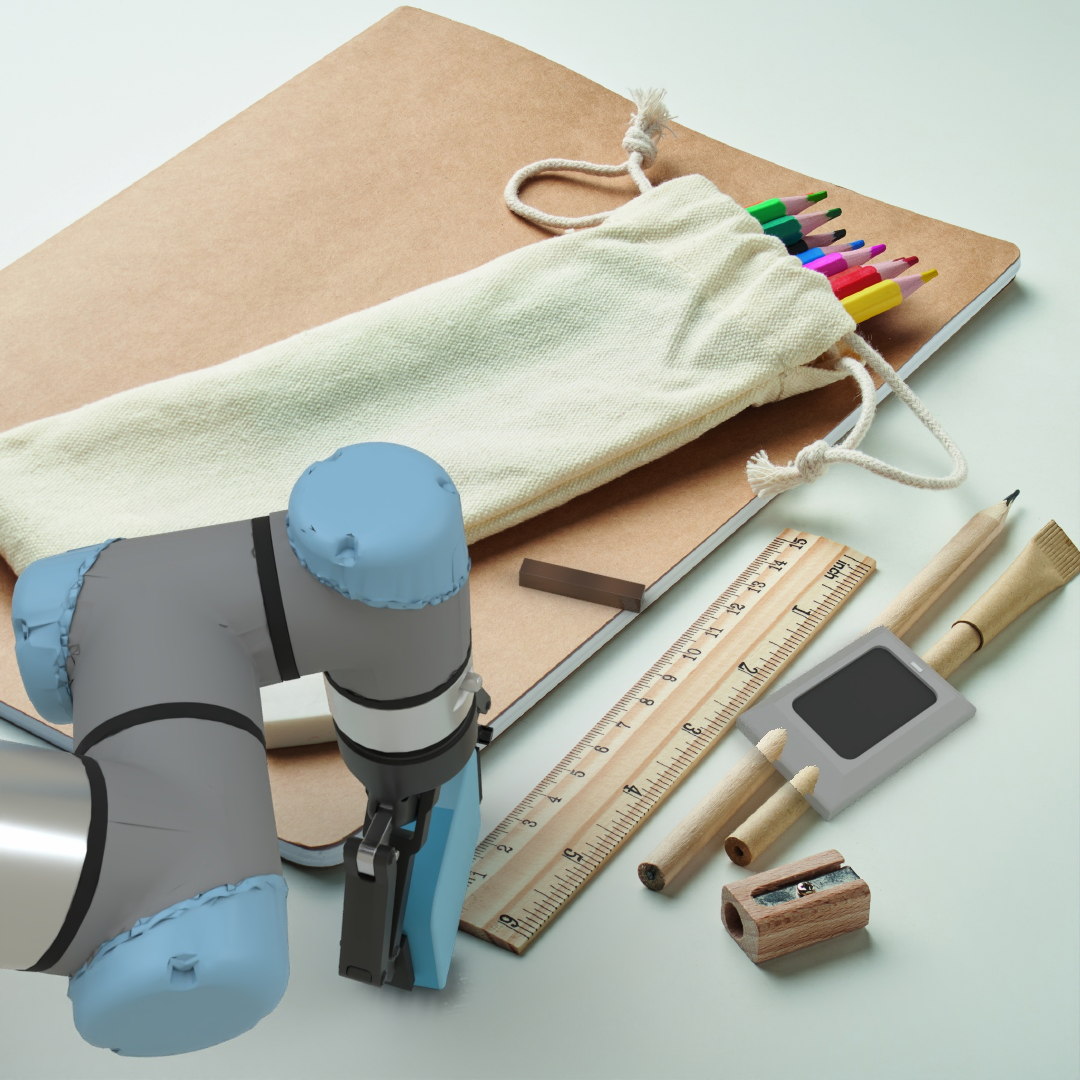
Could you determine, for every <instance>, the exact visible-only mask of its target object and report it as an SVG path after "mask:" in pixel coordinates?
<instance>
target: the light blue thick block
mask: <svg viewBox="0 0 1080 1080" xmlns="http://www.w3.org/2000/svg"><path fill="white" fill-rule="evenodd" d="M481 823H482V821H481V804H480V802H479V786H478V769H477V753H476V749H474V751H473V754H472V756H471V757H470V759H469V761H468V762H467V764H466V765H465V766H464V768H463V769H462V770H461V771H460V772H459V773H458V774H457V775H456V776H455V777H453V778H452V779H451V780H449V781H448V782H446V783H445V784H443V785H441V790H440V795H439V800H438V802H437V803H436V804H435V805H434V807H433V809H432V815H431V820H430V826H429V832H428V837H427V841H426V843H425V844H424V846H423V847H422V848H421V849H420V851H419V852H418V853H416V855H415V861H414V866H413V872H412V878H411V883H410V889H409V894H408V900H407V906H406V911H405V917H404V923H403V928H402V934H404V935H407V936H408V942H409V948H410V953H411V959H412V964H413V970H414V975H415V982H414V985H413V986H416V987H421V988H427V989H428V988H429V989H434V990H443V989H444V988H445V987H446V984H447V980H448V974H449V970H450V967H451V963H452V962H451V961H452V957H453V953H454V948H455V945H456V944H455V943H456V938H457V934H458V929H459V926H460V920H461V916H462V912H463V907H464V902H465V898H466V893H467V889H468V885H469V879H470V876H471V875H470V874H471V871H472V866H473V862H474V858H475V853H476V848H477V844H478V839H479V834H480V830H481V826H482V825H481ZM415 825H416V821H415V822H412V823H410V824H407V825H405V826H402V827H400V828H403V829H407V830H410V831H415Z"/></svg>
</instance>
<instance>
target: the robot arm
mask: <svg viewBox="0 0 1080 1080" xmlns="http://www.w3.org/2000/svg"><path fill="white" fill-rule="evenodd" d="M461 501H462V500H461V494H460V492H459V491H458V488H457V487H456V485H455V483H454V481H453V479H452V478H451V475H450V474H449V473H448V472H447V471H446V469H444V467H443V466H442V465H440V463H439V462H437V461H436V460H435V459H434V458H432V457H431V456H429V455H428V454H425V453H424V452H422V451H420V450H419V449H416V448H413V447H410V446H407V445H404V444H399V443H394V442H388V441H366V442H359V443H353V444H348V445H345V446H342V447H339V448H336V450H335V452H334V453H332V455H330V456H329V457H327V458H325V459H323V460H315V461H314V462H313V463H312V464H310V465H308V467H306V468H305V469H304V471H302V473H301V474H300V476H299V477H298V478H297V480H296V482H295V483H294V485H293V487H292V489H291V491H290V494H289V499H288V505H287V506H288V507H287V509H283V510H277V511H271V512H269V515H263V516H258V517H252V518H247V519H242V520H241V519H240V520H236V521H230V522H224V523H218V524H212V525H211V524H210V525H205V526H198V527H194V528H193V527H191V528H187V529H181V530H175V531H169V532H164V533H156V534H151V535H150V534H149V535H142V536H136V537H130V538H128V537H127V538H126V537H116V538H108V539H106V540H105V541H103V542H100V543H95V544H91V545H86V546H82V547H77V548H74V549H67V550H66V551H65V552H61V553H57V554H53V555H49V556H46V557H41V558H38V559H36V560H34V561H32V562H31V563H30V564H28V565H27V566H26V567H25V568H24V569H23V570H22V572H21V573H20V574H19V576H18V578H17V580H16V582H15V585H14V589H13V594H12V599H11V624H12V629H13V633H14V638H15V644H14V652H15V658H16V662H17V666H18V670H19V675H20V678H21V681H22V684H23V687H24V690H25V693H26V695H27V698H28V699H29V701H30V703H31V704H32V706H33V708H34V709H35V710H36V712H37V714H38V715H39V716H40V717H41V718H42V719H44V720H45V721H46V722H48V723H51V724H53V725H56V726H57V725H58V726H59V725H60V726H66V725H72V752H68V751H63V750H60V749H59V750H58V749H52V748H47V747H44V746H37V745H32V744H27V743H21V742H16V741H12V740H7V739H6V740H5V739H0V970H11V971H12V970H13V971H18V972H26V973H27V972H29V973H39V974H40V973H41V974H45V975H51V976H60V977H67V978H68V987H67V993H66V997H67V998H68V999H69V1000H70V1001H71V1003H72V1017H73V1018H72V1019H73V1024H74V1027H75V1029H76V1031H77V1032H78V1034H79V1035H80V1037H81V1038H82V1040H83V1041H85V1042H86V1043H87V1044H89V1045H90V1046H91V1047H95V1048H99V1049H103V1050H104V1049H109V1050H110V1051H111V1053H114V1054H116V1055H118V1056H120V1057H121V1056H122V1057H129V1058H159V1057H160V1058H161V1057H170V1056H178V1055H184V1054H188V1053H193V1052H197V1051H202V1050H205V1049H209V1048H211V1047H215V1046H218V1045H221V1044H223V1043H226V1042H228V1041H231V1040H233V1039H235V1038H237V1037H240V1036H241V1035H243V1034H246V1033H247V1032H249V1031H251V1030H252V1029H253V1028H255V1027H256V1026H257V1025H258V1024H259V1022H260V1021H261V1020H262V1019H264V1018H265V1017H267V1016H269V1015H271V1013H273V1011H274V1010H275V1009H276V1008H277V1007H278V1006H279V1005H280V1003H281V1001H282V999H283V998H284V996H285V994H286V992H287V988H288V986H289V985H288V984H289V979H290V974H291V973H290V971H291V970H290V968H291V967H290V950H289V926H288V925H289V923H288V900H287V899H288V894H289V892H290V891H289V890H290V888H289V886H288V883H287V881H286V878H285V877H284V872H283V866H282V859H281V858H282V857H281V852H280V844H279V837H278V832H277V824H276V817H275V810H274V803H273V795H272V788H271V781H270V780H271V779H270V773H269V767H268V766H269V764H268V751H267V740H266V731H265V724H264V723H265V722H264V715H263V706H262V705H263V704H262V697H261V690H260V689H261V688H265V687H268V686H273V685H277V684H281V683H284V682H288V681H295V680H299V679H301V677H304V676H310V675H315V674H320V673H322V677H323V683H324V688H325V694H326V699H327V704H328V710H329V712H330V714H331V717H332V723H333V727H334V731H335V737H336V740H337V745H338V749H339V753H340V756H341V758H342V761H343V762H344V765H345V766H346V767H347V769H348V770H349V772H350V773H351V774H352V775H353V776H354V777H355V778H356V779H357V780H358V781H359V782H360V783H361V785H362V786H363V787H365V794H366V796H367V802H366V809H365V815H364V820H363V826H362V837H358V836H355V835H351V834H350V835H349V836H348V837H347V839H346V840H345V842H344V844H343V847H342V849H343V850H342V851H343V852H342V859H343V866H344V871H345V872H344V873H345V877H344V878H345V880H344V890H343V891H344V893H343V906H342V917H341V918H342V920H341V935H340V940H339V959H338V971H337V973H338V976H340V977H343V978H347V979H349V980H352V981H356V982H359V983H362V984H365V985H369V986H372V987H375V988H378V989H381V988H382V987H383V986H384V985H387V986H391V987H395V988H398V989H401V990H404V991H408V992H412V991H413V988H414V986H415V985H414V982H415V975H414V970H413V964H412V959H411V953H410V948H409V942H408V936H407V935H404V934H402V928H403V923H404V917H405V911H406V906H407V900H408V894H409V889H410V883H411V878H412V872H413V866H414V861H415V855H416V853H418V852H419V851H420V849H421V848H422V847H423V846H424V844H425V843H426V841H427V837H428V832H429V826H430V820H431V815H432V809H433V807H434V805H435V804H436V803H437V802H438V800H439V795H440V790H441V785H443V784H445V783H446V782H448V781H449V780H451V779H452V778H453V777H455V776H456V775H457V774H458V773H459V772H460V771H461V770H462V769H463V768H464V766H465V765H466V764H467V762H468V761H469V759H470V757H471V756H472V754H473V751H474V749H476V753H477V769H478V786H479V802H480V805H481V803H482V801H483V798H484V797H483V782H482V781H483V779H482V767H481V766H482V765H481V764H482V763H481V748H480V746H477V744H480V745H484V746H490V745H491V743H492V740H493V736H494V731H495V729H494V727H492V726H489V725H484V724H480V723H479V721H478V720H479V717H480V714H481V715H487V714H488V712H489V711H491V707H492V697H491V695H490V694H489V693H488V692H487V691H486V690H485V689H484V687H483V682H484V680H483V677H482V675H481V674H479V673H477V672H475V671H474V659H473V657H474V656H473V642H472V641H473V640H472V638H473V637H472V636H473V635H472V629H473V628H472V617H471V615H472V613H471V589H470V588H471V587H470V571H471V568H472V567H471V566H472V558H471V557H470V556H469V548H468V544H467V539H466V531H465V524H464V517H463V515H464V514H463V508H462V502H461ZM415 821H416V825H415V831H410V830H407V829H403V828H400V827H402V826H405V825H407V824H410V823H412V822H415Z"/></svg>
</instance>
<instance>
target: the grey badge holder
mask: <svg viewBox="0 0 1080 1080" xmlns="http://www.w3.org/2000/svg"><path fill="white" fill-rule="evenodd" d="M881 625H882V626H881ZM881 625H879V626H880V627H879V626H877V627H874V628H873V629H871V630H869V631H870V632H869V631H868V632H869V633H868V632H867V634H866V633H865V634H863V635H861V636H860V637H859V638H857V639H855V640H854V641H852V642H851V643H849V644H848V645H846V646H844V647H843V648H841V649H840V650H838V651H837V652H835V653H833V654H832V655H830V656H829V657H827V658H826V659H825V660H822V661H821V662H820V663H819V664H817V665H815V666H813V667H812V668H810V669H809V670H807V671H806V672H804V673H803V674H801V675H799V676H798V677H796V678H795V679H793V680H792V681H790V682H789V683H787V684H785V685H784V686H783V687H781V688H780V689H778V690H776V691H775V692H773V693H772V694H770V695H768V696H767V697H765V698H764V699H763V700H760V701H759V702H758V703H756V704H754V705H753V706H751V707H750V708H748V709H747V710H745V711H744V712H742V713H741V714H739V715H737V717H736V720H735V725H734V726H735V727H736V728H737V729H738V730H739V731H740V733H742V734H743V736H744V737H745V738H746V739H747V740H748V741H749V742H750V743H751V744H752V745H753V746H754V747H755V746H756V745H757V744H758V742H760V740H761V739H762V738H763V737H764V736H765V735H766V734H767V733H768V732H769V731H771V730H775V729H777V728H778V729H779V728H780V729H786V730H785V731H787V735H786V736H787V740H786V743H785V746H784V747H783V751H782V753H781V755H780V760H779V761H780V762H779V761H778V760H777V759H775V760H774V761H773V763H770V764H771V765H772V766H773V767H774V768H775V769H776V770H777V771H778V772H779V773H780V774H781V775H782V776H783V778H785V780H786V781H787V782H788V783H789V781H790V780H792V779H793V778H794V776H795V775H796V774H798V773H799V771H800V770H802V769H804V768H805V767H806V766H808V767H809V766H814V765H816V766H814V767H818V768H819V771H818V772H819V776H818V777H817V778H818V780H817V783H816V784H815V788H814V793H813V796H814V797H813V796H812V795H811V794H810V793H809V792H808V793H807V794H805V796H802V798H803V799H805V800H806V802H807V803H808V804H809V805H810V806H811V807H812V808H813V809H814V810H815V811H816V812H817V813H818V815H820V816H821V817H822V819H823V820H825V822H829V821H830V820H831V819H833V818H834V817H836V816H837V815H839V814H840V813H841V812H843V811H844V810H845V809H847V808H848V807H850V806H851V805H852V804H854V803H855V802H856V801H858V800H859V799H861V798H862V797H864V796H865V795H866V794H868V793H869V792H870V791H872V790H874V789H875V788H876V787H877V786H879V785H881V784H882V783H883V782H884V781H886V780H887V779H889V778H890V777H892V776H893V775H894V774H896V773H897V772H898V771H900V770H901V769H902V768H904V767H905V766H907V765H908V764H910V763H911V762H912V761H913V760H915V759H916V758H918V757H919V756H922V754H924V753H925V752H927V750H929V749H930V748H932V747H933V746H935V745H936V744H937V743H939V742H940V741H942V740H943V739H944V738H946V737H948V736H949V735H950V734H951V733H953V732H954V731H956V730H957V729H959V728H960V727H961V726H963V725H964V724H965V723H967V722H968V721H970V720H972V718H974V717H975V715H976V713H977V711H978V710H977V707H976V706H975V705H974V704H973V703H972V702H971V701H970V700H968V699H967V698H966V697H965V696H963V694H961V693H960V692H959V690H957V689H956V688H955V687H954V686H952V685H951V684H950V683H949V682H948V681H947V680H946V679H945V678H944V677H942V676H941V675H940V674H939V673H938V672H937V671H936V670H935V669H934V668H933V667H931V666H930V665H929V664H928V663H927V662H925V661H924V660H923V658H921V657H920V656H919V655H918V654H916V653H915V651H913V650H912V649H911V648H910V647H909V646H908V645H906V643H904V641H902V640H901V639H900V638H899V637H898V636H896V634H894V633H893V632H892V631H891V630H890V629H889V628H887V627H886V626H885V624H881ZM781 727H782V728H781Z"/></svg>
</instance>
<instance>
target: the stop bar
mask: <svg viewBox="0 0 1080 1080" xmlns="http://www.w3.org/2000/svg"><path fill="white" fill-rule="evenodd" d="M518 586H519V587H522V588H527V589H530V590H535V591H540V592H544V593H549V594H552V595H556V596H562V597H566V598H570V599H574V600H579V601H583V602H587V603H591V604H596V605H601V606H605V607H609V608H614V609H618V610H621V611H627V612H631V613H636V614H640V613H641V610H642V608H643V603H644V601H645V593H646V584H643V583H639V582H634V581H630V580H626V579H622V578H617V577H612V576H607V575H604V574H599V573H595V572H590V571H587V570H586V571H585V570H581V569H576V568H574V567H573V568H572V567H568V566H565V565H564V566H563V565H559V564H555V563H550V562H546V561H542V560H537V559H532V558H529V557H524V558H523V560H522V563H521V565H520V568H519V569H518Z"/></svg>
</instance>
